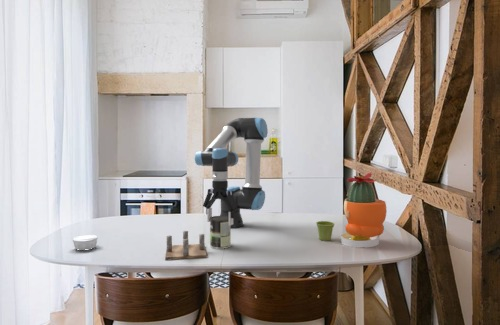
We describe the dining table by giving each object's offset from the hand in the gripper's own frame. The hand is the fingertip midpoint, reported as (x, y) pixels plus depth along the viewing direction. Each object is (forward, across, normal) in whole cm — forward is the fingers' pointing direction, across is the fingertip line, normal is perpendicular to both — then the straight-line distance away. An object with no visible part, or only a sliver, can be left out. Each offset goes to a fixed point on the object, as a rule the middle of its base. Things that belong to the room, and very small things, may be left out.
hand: (220, 223), depth 192 cm
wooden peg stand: (+12, -6, -17) cm, 22 cm away
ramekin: (+12, -52, -40) cm, 66 cm away
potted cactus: (+11, +56, +46) cm, 74 cm away
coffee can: (+12, 0, +1) cm, 12 cm away
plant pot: (+11, +37, +41) cm, 56 cm away
